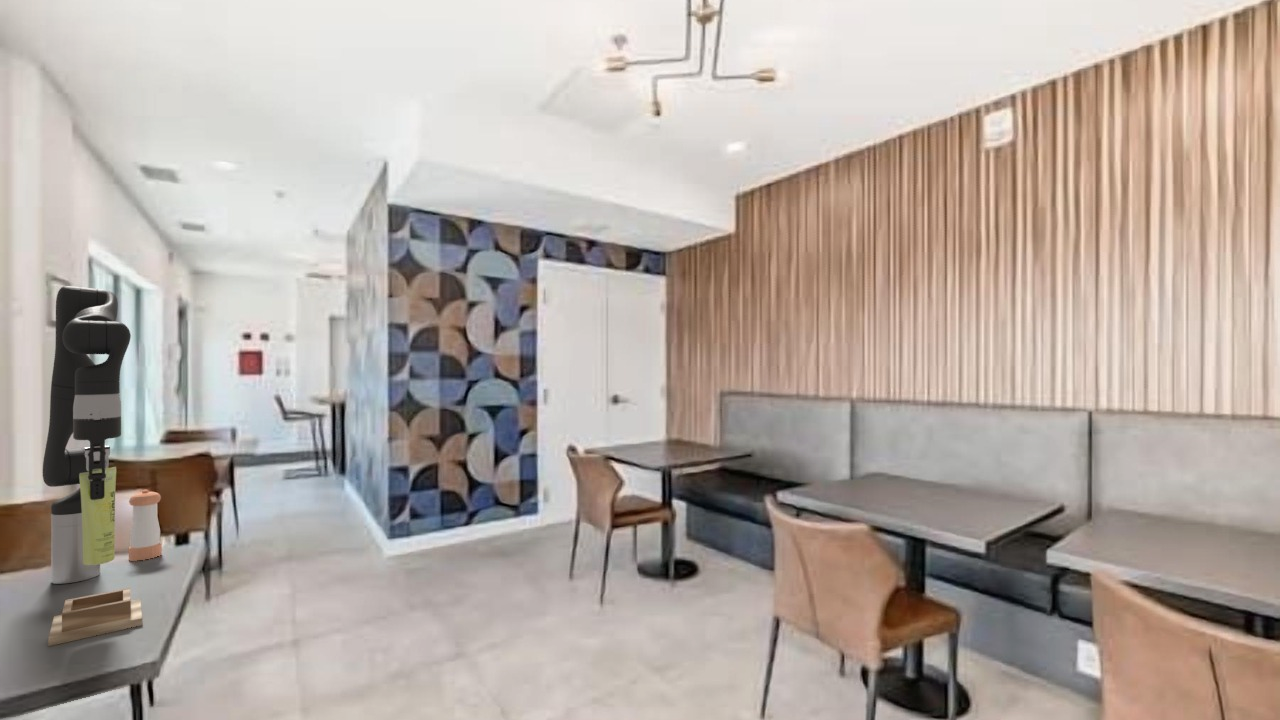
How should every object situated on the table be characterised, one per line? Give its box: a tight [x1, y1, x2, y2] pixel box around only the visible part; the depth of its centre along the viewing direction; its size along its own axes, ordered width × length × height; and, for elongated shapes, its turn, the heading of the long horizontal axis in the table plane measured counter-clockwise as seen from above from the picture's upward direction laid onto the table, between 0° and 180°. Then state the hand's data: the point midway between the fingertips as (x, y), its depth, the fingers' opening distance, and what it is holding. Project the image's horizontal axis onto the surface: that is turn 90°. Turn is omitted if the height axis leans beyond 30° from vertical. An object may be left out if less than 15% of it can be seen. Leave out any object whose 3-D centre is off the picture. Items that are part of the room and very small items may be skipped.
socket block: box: [47, 587, 143, 647], centre depth 126 cm, size 14×14×5 cm
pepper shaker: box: [128, 489, 163, 562], centre depth 172 cm, size 7×7×19 cm
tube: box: [79, 466, 117, 565], centre depth 127 cm, size 6×5×20 cm
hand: (97, 496), depth 127 cm, fingers closed on tube, 4 cm apart
